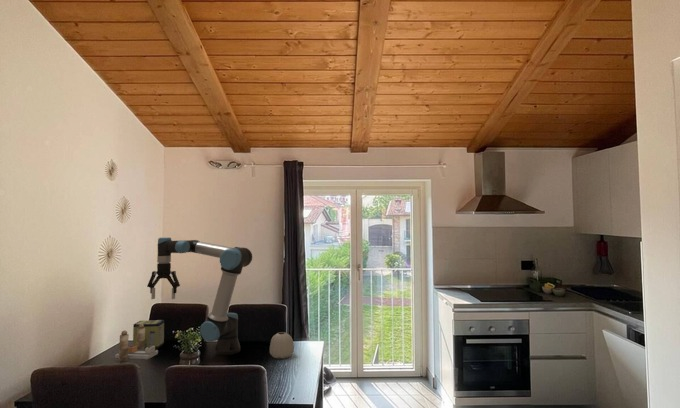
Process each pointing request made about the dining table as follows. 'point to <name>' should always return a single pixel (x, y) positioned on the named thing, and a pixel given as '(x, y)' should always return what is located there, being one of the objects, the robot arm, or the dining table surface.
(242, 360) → the dining table surface
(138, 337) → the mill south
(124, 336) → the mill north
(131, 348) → the breaker
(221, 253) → the robot arm
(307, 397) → the dining table surface
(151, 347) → the breaker
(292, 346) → the vase
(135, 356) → the white rectangular tray
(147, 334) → the protein box
